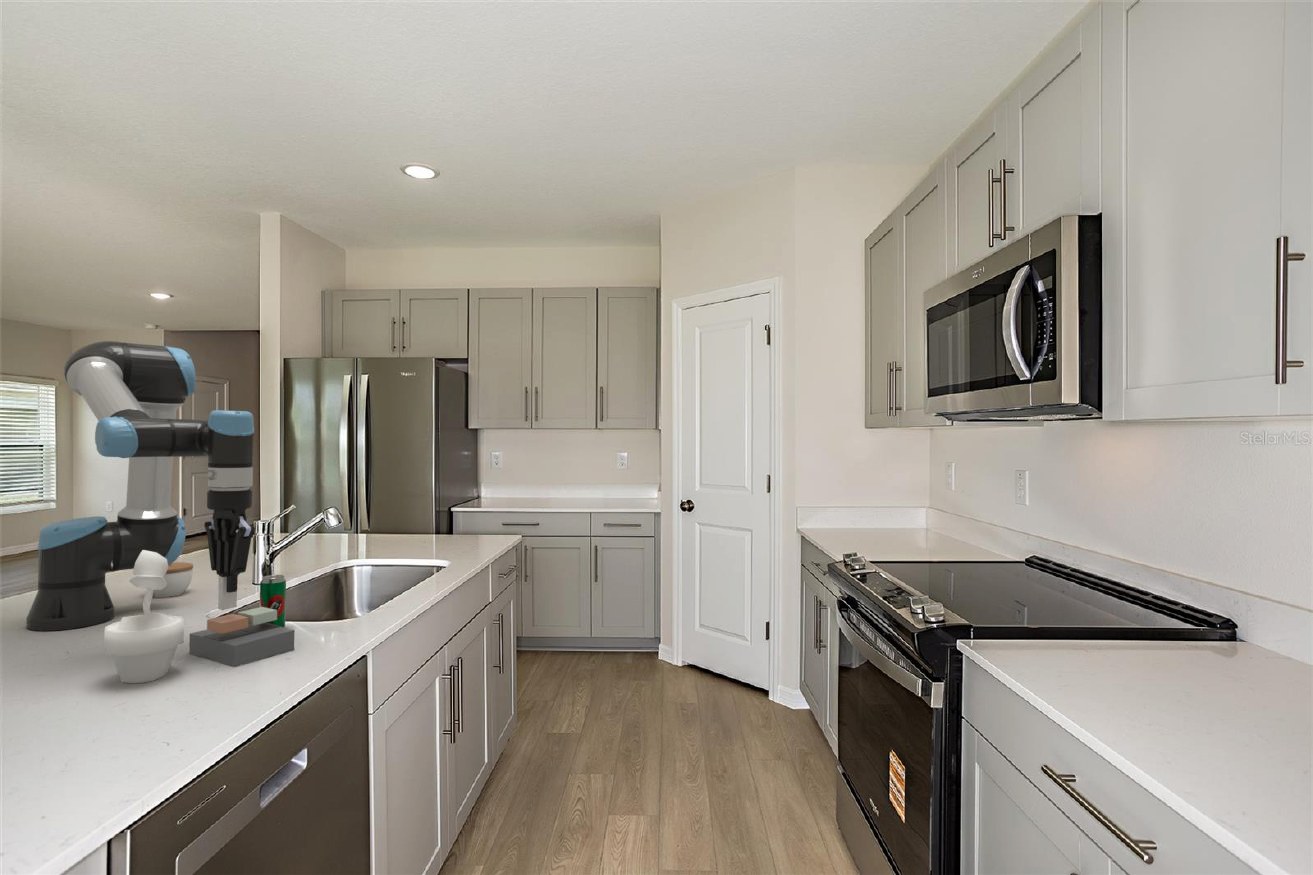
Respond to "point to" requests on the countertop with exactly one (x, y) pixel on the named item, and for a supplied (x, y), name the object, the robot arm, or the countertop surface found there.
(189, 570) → the lidded jar
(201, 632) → the button panel
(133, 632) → the white floating cup sculpture
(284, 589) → the soda can
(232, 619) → the rust key
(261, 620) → the sage key
